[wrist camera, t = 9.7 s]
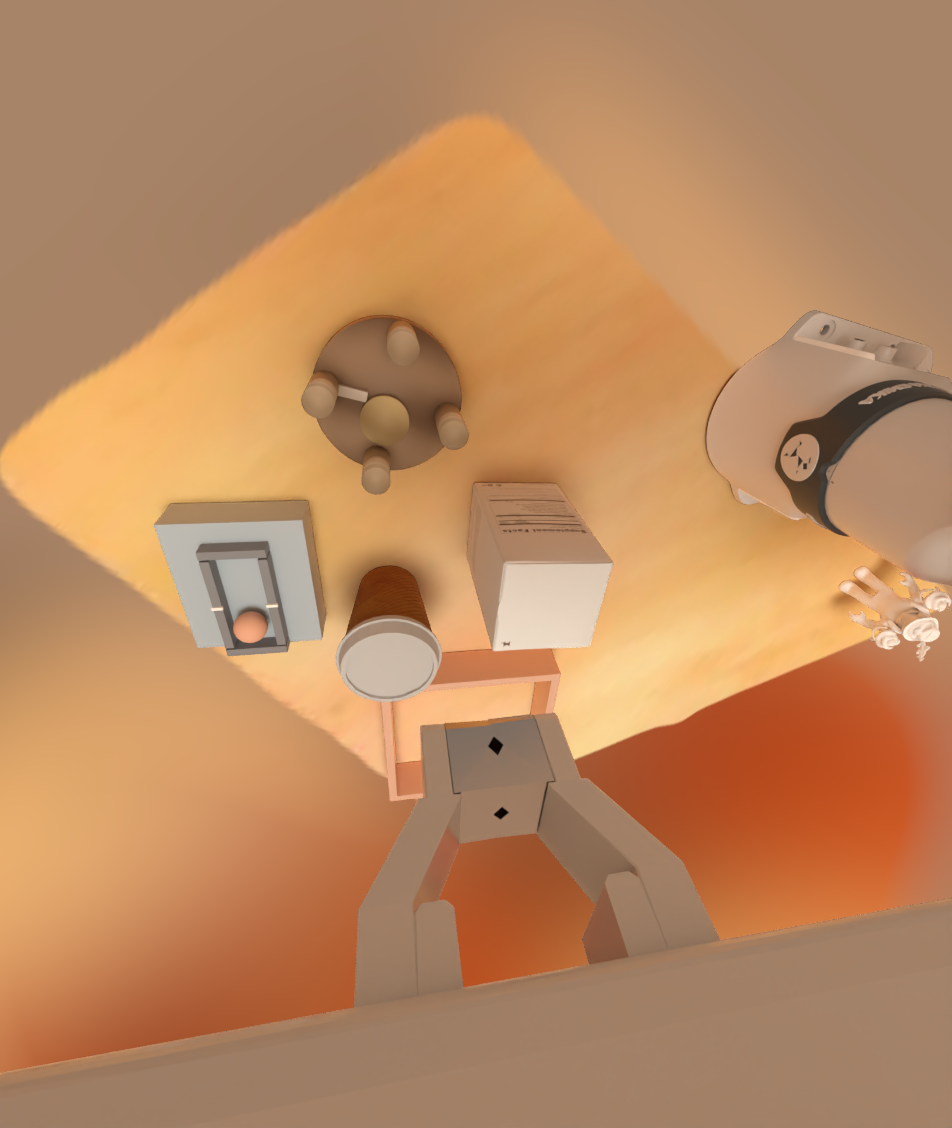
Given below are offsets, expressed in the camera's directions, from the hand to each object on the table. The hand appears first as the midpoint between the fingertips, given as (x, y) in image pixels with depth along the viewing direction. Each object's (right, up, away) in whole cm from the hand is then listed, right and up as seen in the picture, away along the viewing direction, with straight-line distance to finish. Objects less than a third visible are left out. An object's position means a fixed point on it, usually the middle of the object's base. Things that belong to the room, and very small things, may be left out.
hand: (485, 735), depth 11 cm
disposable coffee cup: (-10, +1, +43) cm, 44 cm away
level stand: (-22, +4, +38) cm, 45 cm away
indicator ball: (-22, -2, +36) cm, 42 cm away
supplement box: (+3, +8, +40) cm, 41 cm away
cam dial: (-8, +19, +31) cm, 37 cm away
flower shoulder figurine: (+49, +2, +53) cm, 73 cm away
